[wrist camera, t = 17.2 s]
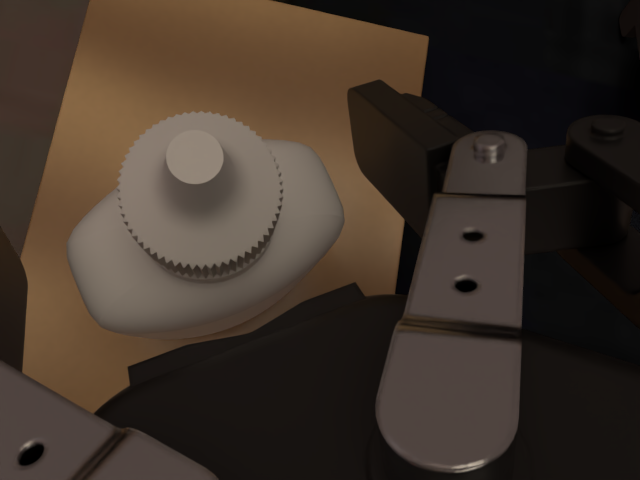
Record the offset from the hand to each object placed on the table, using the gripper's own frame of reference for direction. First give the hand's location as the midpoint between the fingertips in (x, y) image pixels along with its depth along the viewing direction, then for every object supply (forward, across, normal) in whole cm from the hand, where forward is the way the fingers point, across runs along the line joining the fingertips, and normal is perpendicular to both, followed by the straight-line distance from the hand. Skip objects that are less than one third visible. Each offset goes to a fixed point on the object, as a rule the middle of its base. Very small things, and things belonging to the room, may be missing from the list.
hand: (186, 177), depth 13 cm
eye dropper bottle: (+4, 0, +6) cm, 7 cm away
